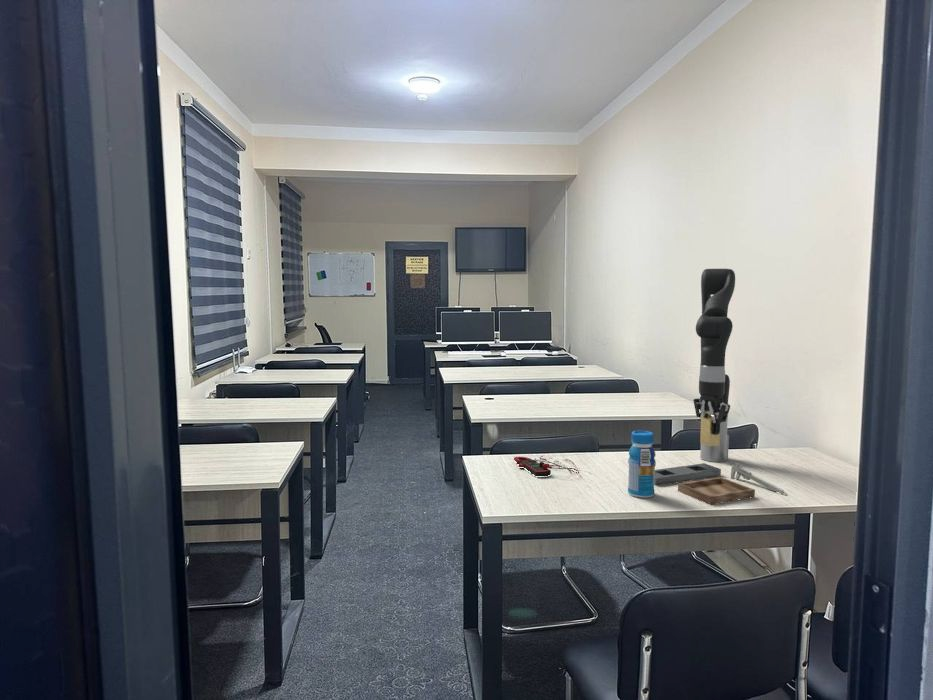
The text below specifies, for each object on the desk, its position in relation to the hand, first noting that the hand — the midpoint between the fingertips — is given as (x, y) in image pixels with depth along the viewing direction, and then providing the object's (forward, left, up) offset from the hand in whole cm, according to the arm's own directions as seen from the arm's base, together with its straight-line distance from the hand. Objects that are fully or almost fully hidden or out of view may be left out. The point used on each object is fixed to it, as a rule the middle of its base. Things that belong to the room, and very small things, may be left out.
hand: (710, 432), depth 191 cm
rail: (-3, -16, -20) cm, 25 cm away
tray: (-1, +2, -20) cm, 20 cm away
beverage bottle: (+21, -7, -20) cm, 30 cm away
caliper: (-20, +1, -20) cm, 28 cm away
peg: (0, 0, -4) cm, 4 cm away
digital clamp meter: (+33, -43, -20) cm, 58 cm away
